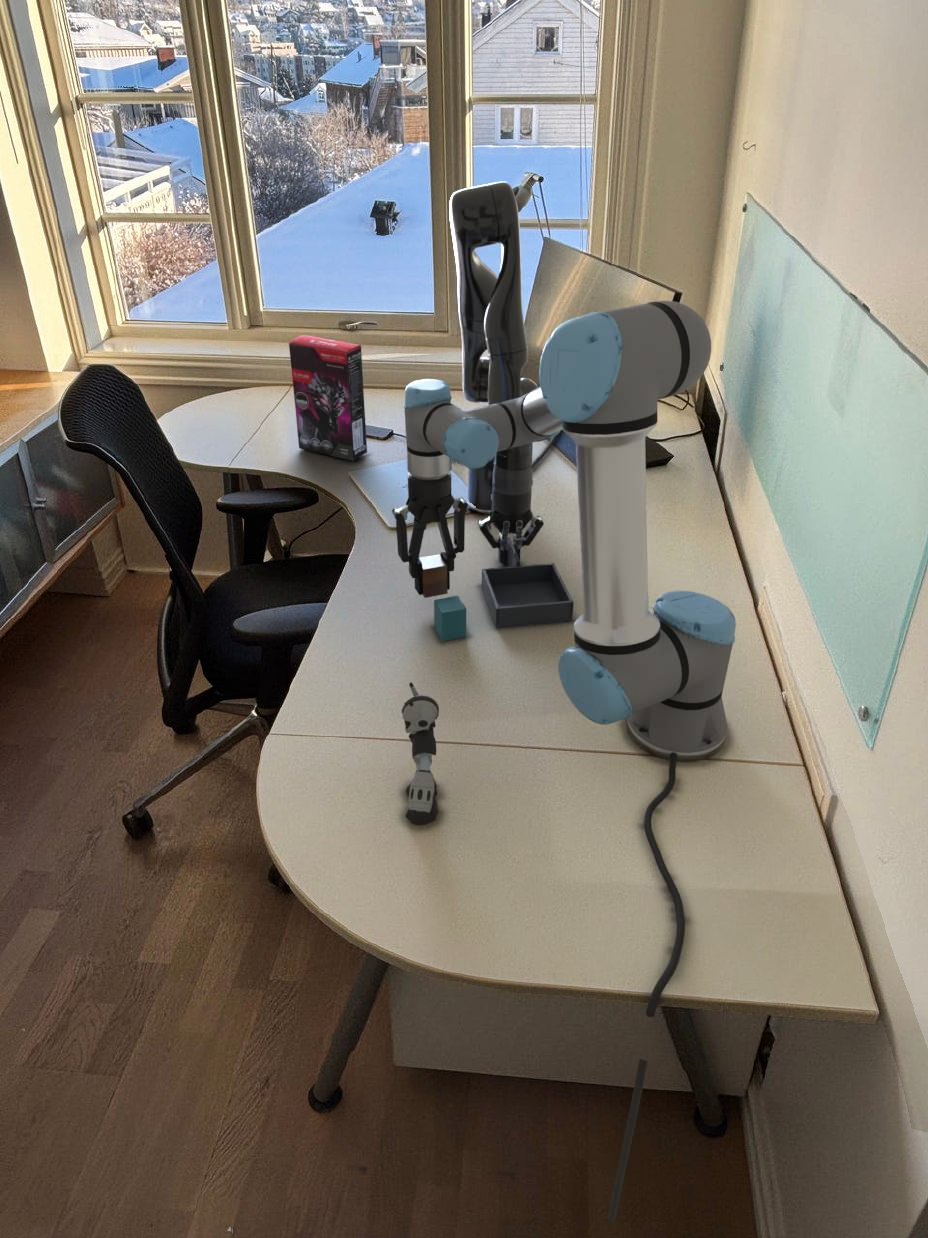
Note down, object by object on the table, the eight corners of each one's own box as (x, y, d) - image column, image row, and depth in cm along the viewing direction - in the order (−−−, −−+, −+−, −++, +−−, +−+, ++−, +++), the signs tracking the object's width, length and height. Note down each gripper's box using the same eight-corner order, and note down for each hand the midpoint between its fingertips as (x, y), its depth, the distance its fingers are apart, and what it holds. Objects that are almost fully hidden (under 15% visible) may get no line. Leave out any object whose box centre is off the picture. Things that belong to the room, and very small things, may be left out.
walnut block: (447, 593, 169) (447, 565, 166) (424, 598, 168) (423, 569, 165) (439, 581, 173) (439, 553, 170) (417, 586, 172) (416, 558, 168)
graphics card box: (296, 449, 231) (285, 340, 216) (313, 439, 236) (303, 333, 221) (353, 463, 224) (346, 352, 209) (369, 453, 229) (363, 343, 214)
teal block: (466, 636, 164) (466, 608, 160) (442, 641, 163) (442, 613, 159) (457, 623, 167) (457, 595, 164) (434, 627, 166) (434, 599, 163)
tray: (572, 621, 168) (574, 597, 165) (495, 627, 166) (496, 604, 163) (540, 555, 188) (542, 534, 185) (472, 561, 186) (472, 539, 183)
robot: (441, 856, 121) (440, 742, 110) (404, 858, 121) (400, 743, 110) (437, 755, 138) (436, 646, 127) (405, 756, 137) (401, 647, 126)
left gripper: (542, 474, 180) (537, 551, 189) (473, 478, 178) (472, 556, 187) (551, 491, 174) (546, 570, 183) (480, 495, 172) (478, 575, 181)
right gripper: (469, 456, 163) (469, 571, 176) (374, 470, 158) (381, 587, 171) (484, 472, 157) (483, 590, 170) (385, 487, 152) (392, 607, 165)
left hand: (508, 563), depth 185 cm, fingers closed
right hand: (432, 588), depth 170 cm, fingers closed on walnut block, 4 cm apart
